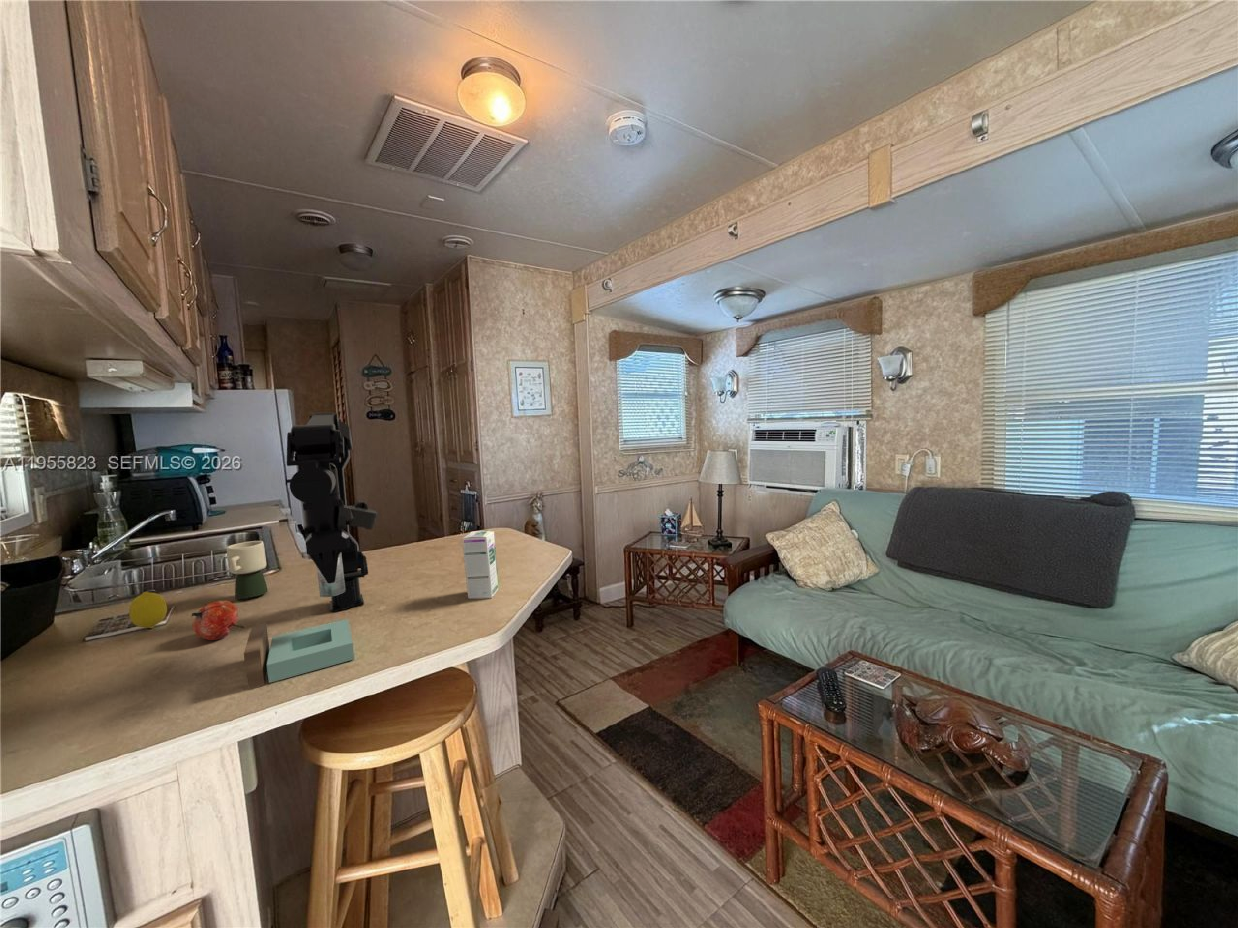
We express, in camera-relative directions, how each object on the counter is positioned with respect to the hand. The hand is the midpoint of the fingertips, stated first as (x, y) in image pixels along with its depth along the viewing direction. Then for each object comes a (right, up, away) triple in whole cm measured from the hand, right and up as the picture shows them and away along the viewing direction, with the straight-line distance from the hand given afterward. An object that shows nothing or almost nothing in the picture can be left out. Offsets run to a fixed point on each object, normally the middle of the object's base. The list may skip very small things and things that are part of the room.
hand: (330, 579), depth 86 cm
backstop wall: (-8, -14, -6) cm, 17 cm away
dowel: (0, -3, 0) cm, 3 cm away
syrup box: (+21, -10, +24) cm, 33 cm away
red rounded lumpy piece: (-27, -13, +8) cm, 31 cm away
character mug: (-37, -11, +29) cm, 48 cm away
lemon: (-45, -14, +13) cm, 49 cm away
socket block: (-2, -13, -2) cm, 13 cm away
